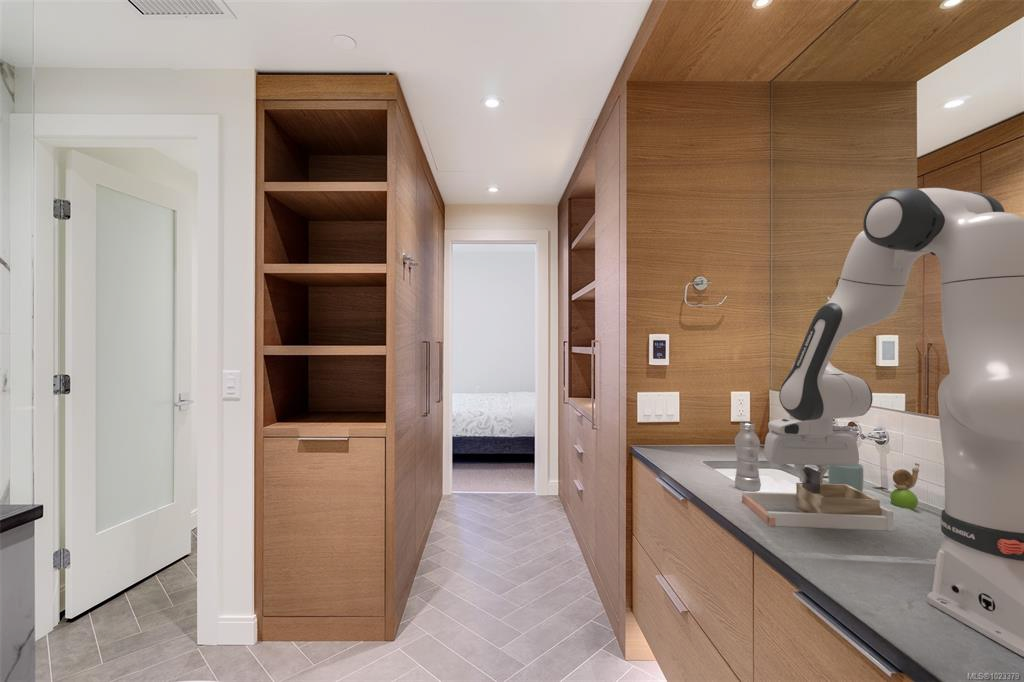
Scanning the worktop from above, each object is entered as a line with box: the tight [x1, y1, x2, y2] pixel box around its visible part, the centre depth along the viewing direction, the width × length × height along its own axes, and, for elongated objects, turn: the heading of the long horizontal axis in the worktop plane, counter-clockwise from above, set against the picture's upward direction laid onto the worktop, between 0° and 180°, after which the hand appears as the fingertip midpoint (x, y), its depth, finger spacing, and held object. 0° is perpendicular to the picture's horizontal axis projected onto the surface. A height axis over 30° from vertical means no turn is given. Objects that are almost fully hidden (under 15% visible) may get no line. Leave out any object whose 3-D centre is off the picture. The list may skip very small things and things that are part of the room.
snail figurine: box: [889, 462, 921, 511], centre depth 117 cm, size 5×6×12 cm
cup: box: [827, 462, 864, 493], centre depth 124 cm, size 8×8×10 cm
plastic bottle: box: [733, 421, 762, 492], centre depth 131 cm, size 6×7×20 cm
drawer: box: [795, 466, 881, 516], centre depth 110 cm, size 12×12×11 cm
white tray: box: [741, 490, 894, 532], centre depth 110 cm, size 16×26×6 cm, turn 84°
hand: (810, 482), depth 110 cm, fingers closed on drawer, 2 cm apart
